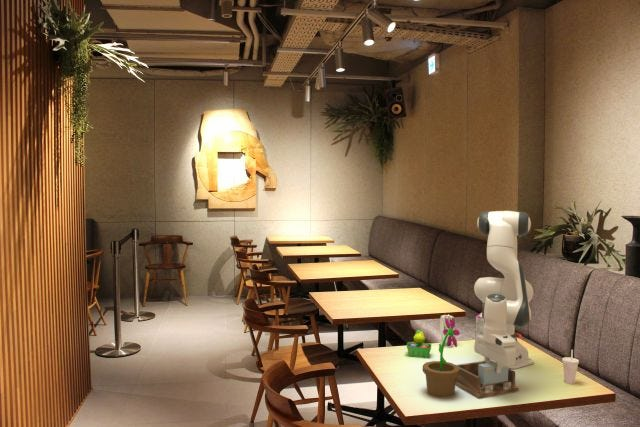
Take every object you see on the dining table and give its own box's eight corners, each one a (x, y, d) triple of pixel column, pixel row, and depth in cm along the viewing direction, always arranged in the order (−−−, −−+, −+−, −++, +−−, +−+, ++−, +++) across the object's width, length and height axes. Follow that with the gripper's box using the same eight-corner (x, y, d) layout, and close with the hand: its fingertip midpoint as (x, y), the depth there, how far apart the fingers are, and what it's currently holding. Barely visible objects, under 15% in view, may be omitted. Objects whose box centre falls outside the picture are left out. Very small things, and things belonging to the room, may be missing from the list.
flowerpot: (466, 397, 213) (468, 321, 211) (432, 401, 209) (434, 323, 207) (447, 384, 227) (449, 312, 225) (415, 387, 223) (417, 314, 221)
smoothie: (570, 386, 227) (572, 352, 226) (557, 381, 232) (559, 348, 231) (581, 383, 230) (583, 350, 229) (568, 378, 235) (569, 346, 234)
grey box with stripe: (483, 384, 215) (484, 367, 215) (477, 381, 219) (478, 364, 218) (507, 380, 220) (508, 363, 220) (501, 377, 223) (502, 360, 223)
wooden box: (489, 376, 236) (490, 359, 236) (518, 391, 221) (519, 372, 220) (451, 383, 228) (451, 365, 228) (478, 398, 213) (479, 379, 212)
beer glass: (453, 348, 274) (454, 318, 273) (439, 347, 276) (440, 317, 275) (453, 344, 281) (454, 315, 280) (439, 343, 283) (440, 314, 282)
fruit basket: (406, 356, 261) (406, 333, 260) (407, 351, 269) (408, 328, 269) (430, 359, 258) (431, 335, 257) (431, 353, 267) (432, 330, 266)
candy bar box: (480, 343, 284) (481, 311, 283) (490, 345, 281) (491, 313, 280) (474, 349, 274) (475, 316, 273) (484, 350, 272) (485, 317, 270)
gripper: (471, 330, 226) (469, 363, 227) (506, 343, 208) (505, 380, 209) (483, 328, 229) (482, 361, 230) (519, 342, 210) (518, 377, 211)
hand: (493, 370), depth 219 cm, fingers closed on grey box with stripe, 4 cm apart
